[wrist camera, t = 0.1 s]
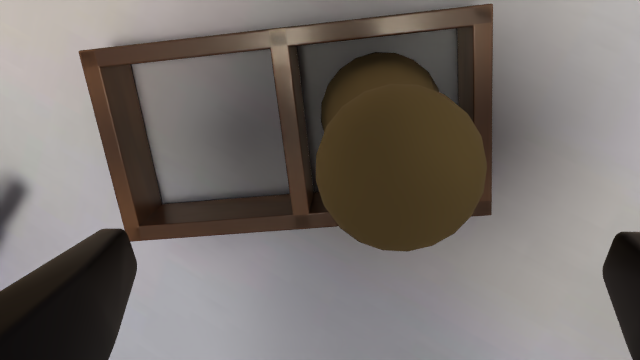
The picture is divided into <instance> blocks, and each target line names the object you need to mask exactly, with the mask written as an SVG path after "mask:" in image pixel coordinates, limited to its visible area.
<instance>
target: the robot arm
mask: <svg viewBox="0 0 640 360" xmlns="http://www.w3.org/2000/svg"><path fill="white" fill-rule="evenodd" d="M136 271H137V262H136V258H135V255H134V252H133V249H132V246H131V243H130V240H129V237H128V235H127V233H126V231H125V230H123V229H101V230H99V231H98V232H96V233H94V234H93V235H91V236H90V237H88V238H86V239H85V240H83V241H81V242H80V243H78V244H77V245H75V246H73V247H72V248H70V249H68V250H67V251H65V252H64V253H62V254H60V255H59V256H57V257H55V258H54V259H52V260H50V261H49V262H47V263H46V264H44V265H42V266H41V267H39V268H37V269H36V270H34V271H33V272H31V273H29V274H28V275H26V276H24V277H23V278H21V279H20V280H18V281H16V282H15V283H13V284H11V285H10V286H8V287H7V288H5V289H3V290H2V291H0V360H108V359H109V357H110V354H111V352H112V349H113V347H114V344H115V341H116V338H117V335H118V332H119V329H120V325H121V322H122V319H123V315H124V312H125V309H126V305H127V302H128V299H129V296H130V292H131V289H132V286H133V282H134V279H135V276H136ZM603 279H604V282H605V285H606V287H607V290H608V293H609V296H610V299H611V302H612V304H613V307H614V310H615V313H616V316H617V319H618V321H619V324H620V327H621V330H622V333H623V335H624V338H625V341H626V344H627V346H628V349H629V352H630V354H631V357H632V359H633V360H640V232H620V233H618V234H617V235H616V236H615V238H614V240H613V242H612V245H611V247H610V250H609V252H608V255H607V257H606V260H605V262H604V265H603Z"/></svg>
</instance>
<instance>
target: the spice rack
mask: <svg viewBox="0 0 640 360" xmlns="http://www.w3.org/2000/svg"><path fill="white" fill-rule="evenodd" d="M455 28H457V34H458V99H459V107H460V108H462V109H463V110H464V111H465V112H466V113H468V115H469V116H470V118H471V120H472V121H473V123H474V125H475V126H476V128H477V130H478V131H479V133H480V135H481V137H482V142H483V147H484V152H485V157H486V162H487V171H486V178H485V185H484V192H483V194H482V196H481V198H480V200H479V202H478V204H477V206H476V208H475V210H474V212H473V214H472V216H485V215H491V207H492V60H493V4H484V5H475V6H466V7H458V8H449V9H440V10H431V11H423V12H414V13H405V14H396V15H388V16H379V17H370V18H361V19H353V20H344V21H335V22H326V23H318V24H309V25H300V26H291V27H282V28H274V29H265V30H256V31H248V32H239V33H230V34H221V35H213V36H204V37H195V38H186V39H178V40H169V41H160V42H151V43H143V44H134V45H125V46H116V47H108V48H99V49H90V50H81V51H79V55H80V59H81V63H82V67H83V71H84V74H85V78H86V82H87V86H88V90H89V94H90V98H91V102H92V105H93V109H94V113H95V117H96V121H97V125H98V129H99V132H100V136H101V140H102V144H103V148H104V152H105V156H106V159H107V163H108V167H109V171H110V175H111V179H112V183H113V186H114V190H115V194H116V198H117V202H118V206H119V210H120V213H121V217H122V221H123V225H124V229H125V231H126V233H127V235H128V237H129V240H130V241H143V240H157V239H171V238H184V237H198V236H211V235H225V234H239V233H252V232H266V231H280V230H293V229H308V228H321V227H334V226H338V224H337V223H336V221H335V220H334V219H333V217H332V216H331V215H330V213H329V212H328V210H327V209H326V208H325V206H324V204H323V202H322V198H321V195H320V192H314V188H313V180H312V171H311V163H310V154H309V146H308V138H307V129H306V121H305V112H304V104H303V95H302V87H301V78H300V70H299V62H298V53H297V46H301V45H310V44H319V43H328V42H337V41H346V40H355V39H364V38H373V37H383V36H392V35H401V34H410V33H419V32H428V31H437V30H446V29H455ZM265 49H270V50H271V58H272V65H273V73H274V80H275V87H276V95H277V102H278V109H279V117H280V124H281V132H282V139H283V146H284V154H285V161H286V168H287V176H288V183H289V190H290V194H283V195H271V196H258V197H246V198H234V199H221V200H209V201H196V202H184V203H171V204H162V201H161V197H160V192H159V188H158V184H157V179H156V175H155V170H154V166H153V162H152V157H151V153H150V148H149V144H148V140H147V135H146V131H145V126H144V122H143V118H142V113H141V109H140V104H139V100H138V96H137V91H136V87H135V83H134V78H133V74H132V69H131V65H130V64H138V63H147V62H156V61H165V60H174V59H183V58H192V57H201V56H210V55H219V54H228V53H237V52H246V51H256V50H265Z"/></svg>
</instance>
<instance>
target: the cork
mask: <svg viewBox="0 0 640 360" xmlns="http://www.w3.org/2000/svg"><path fill="white" fill-rule="evenodd" d="M321 123H322V126H323V130H324V135H323V137H322V140H321V143H320V146H319V148H318V151H317V154H316V182H317V186H318V189H319V192H320V195H321V198H322V202H323V204H324V206H325V208H326V209H327V210H328V212H329V213H330V215H331V216H332V217H333V219H334V220H335V221H336V223H337V224H338V226H339V227H340V228H341V229H342V230H344V231H345V232H347V233H348V234H349V235H351V236H352V237H353V238H355V239H356V240H357V241H359V242H361V243H364V244H367V245H369V246H372V247H375V248H378V249H381V250H390V251H411V250H416V249H420V248H424V247H429V246H432V245H434V244H436V243H438V242H440V241H441V240H443V239H445V238H447V237H449V236H450V235H452V234H454V233H455V232H456V231H457V230H458V229H459V228H460V227H461V226H462V225H463V224H464V223H465V222H466V221H467V220H468V219H469V218H470V217H471V216H472V214H473V212H474V210H475V208H476V206H477V204H478V202H479V200H480V198H481V196H482V194H483V192H484V185H485V178H486V171H487V162H486V157H485V152H484V147H483V142H482V137H481V135H480V133H479V131H478V130H477V128H476V126H475V125H474V123H473V121H472V120H471V118H470V116H469V115H468V113H466V112H465V111H464V110H463V109H462V108H460V107H459V106H458V105H457V104H455V103H454V102H453V101H452V100H451V99H449V98H448V97H447V96H445V95H444V94H442V93H439V89H438V87H437V86H436V84H435V82H434V81H433V79H432V77H431V76H430V74H429V72H428V71H426V70H425V69H424V68H423V67H421V66H420V65H419V64H418V63H417V62H415V61H414V60H413V59H410V58H407V57H405V56H402V55H399V54H396V53H380V52H375V53H371V54H368V55H365V56H361V57H358V58H355V59H354V60H353V61H351V62H350V63H348V64H347V65H345V66H344V67H342V68H341V69H340V70H339V71H338V72H337V74H336V75H335V76H334V78H333V79H332V80H331V82H330V83H329V84H328V86H327V89H326V92H325V95H324V97H323V100H322V105H321Z"/></svg>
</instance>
